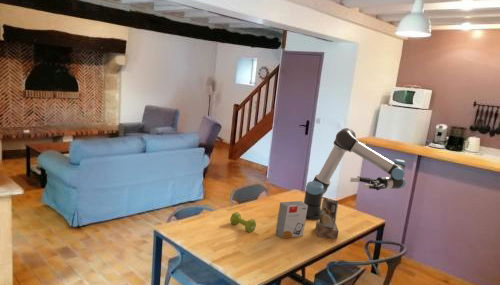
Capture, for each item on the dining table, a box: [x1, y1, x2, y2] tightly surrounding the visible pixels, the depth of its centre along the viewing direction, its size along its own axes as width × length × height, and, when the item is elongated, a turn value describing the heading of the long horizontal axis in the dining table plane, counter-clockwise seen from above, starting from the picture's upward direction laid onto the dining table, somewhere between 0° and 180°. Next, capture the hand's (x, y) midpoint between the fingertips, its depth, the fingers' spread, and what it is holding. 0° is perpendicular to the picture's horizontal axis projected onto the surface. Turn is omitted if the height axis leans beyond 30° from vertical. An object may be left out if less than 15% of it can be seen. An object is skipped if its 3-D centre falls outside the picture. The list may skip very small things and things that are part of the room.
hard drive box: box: [275, 200, 308, 239], centre depth 212 cm, size 16×8×20 cm, turn 117°
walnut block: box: [315, 219, 339, 240], centre depth 220 cm, size 12×12×6 cm
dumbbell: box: [230, 211, 257, 233], centre depth 215 cm, size 16×8×7 cm, turn 47°
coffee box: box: [319, 197, 340, 229], centre depth 218 cm, size 9×6×16 cm
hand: (357, 183), depth 224 cm, fingers open, 13 cm apart
